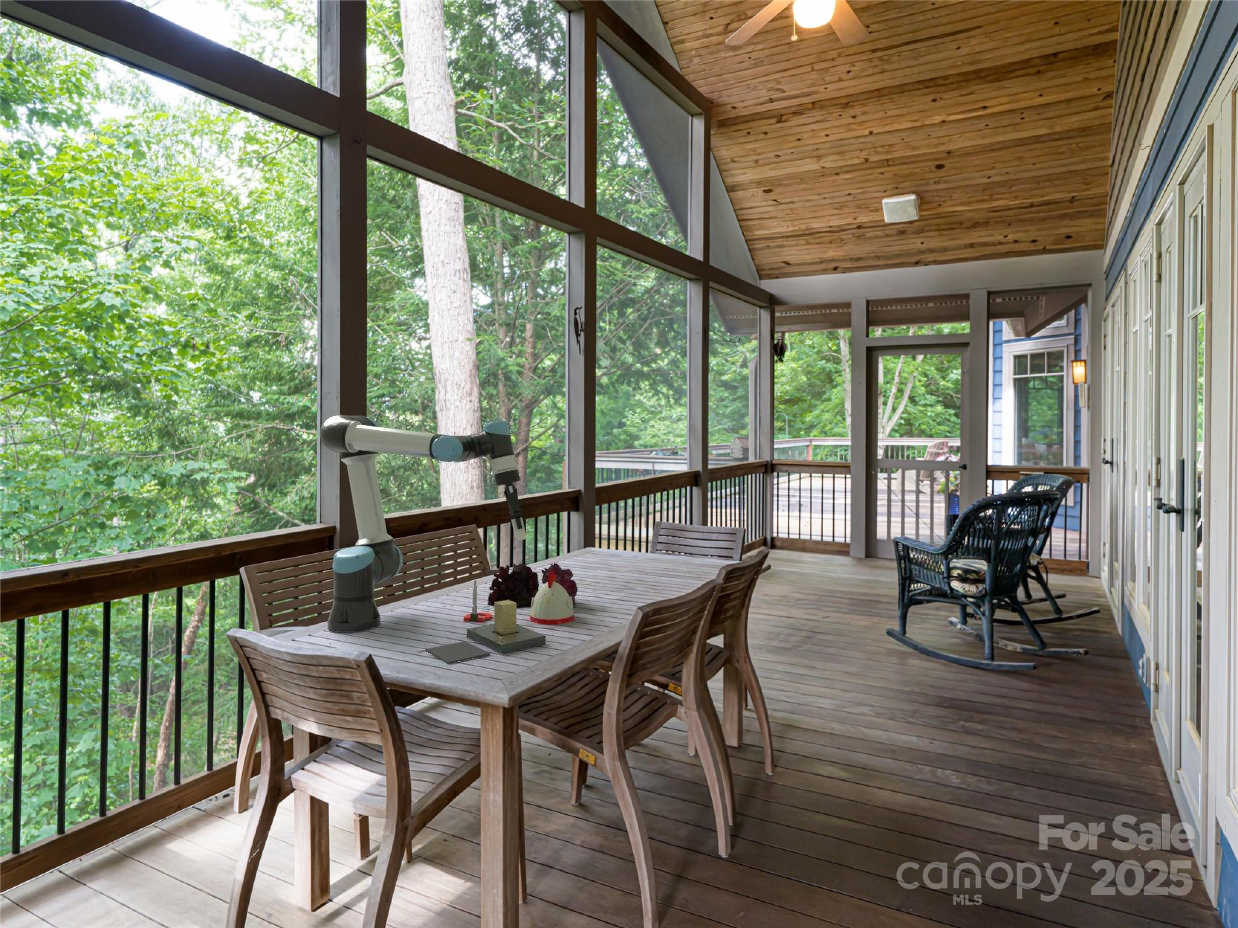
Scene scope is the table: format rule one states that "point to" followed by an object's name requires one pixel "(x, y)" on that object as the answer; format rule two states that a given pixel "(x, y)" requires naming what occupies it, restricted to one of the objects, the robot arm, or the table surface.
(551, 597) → the kitchen timer
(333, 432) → the robot arm
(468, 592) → the table surface
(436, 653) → the rubber mat
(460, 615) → the table surface
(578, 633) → the table surface
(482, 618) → the tow hook
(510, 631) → the brass plug
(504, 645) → the socket plate
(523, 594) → the flower arrangement
